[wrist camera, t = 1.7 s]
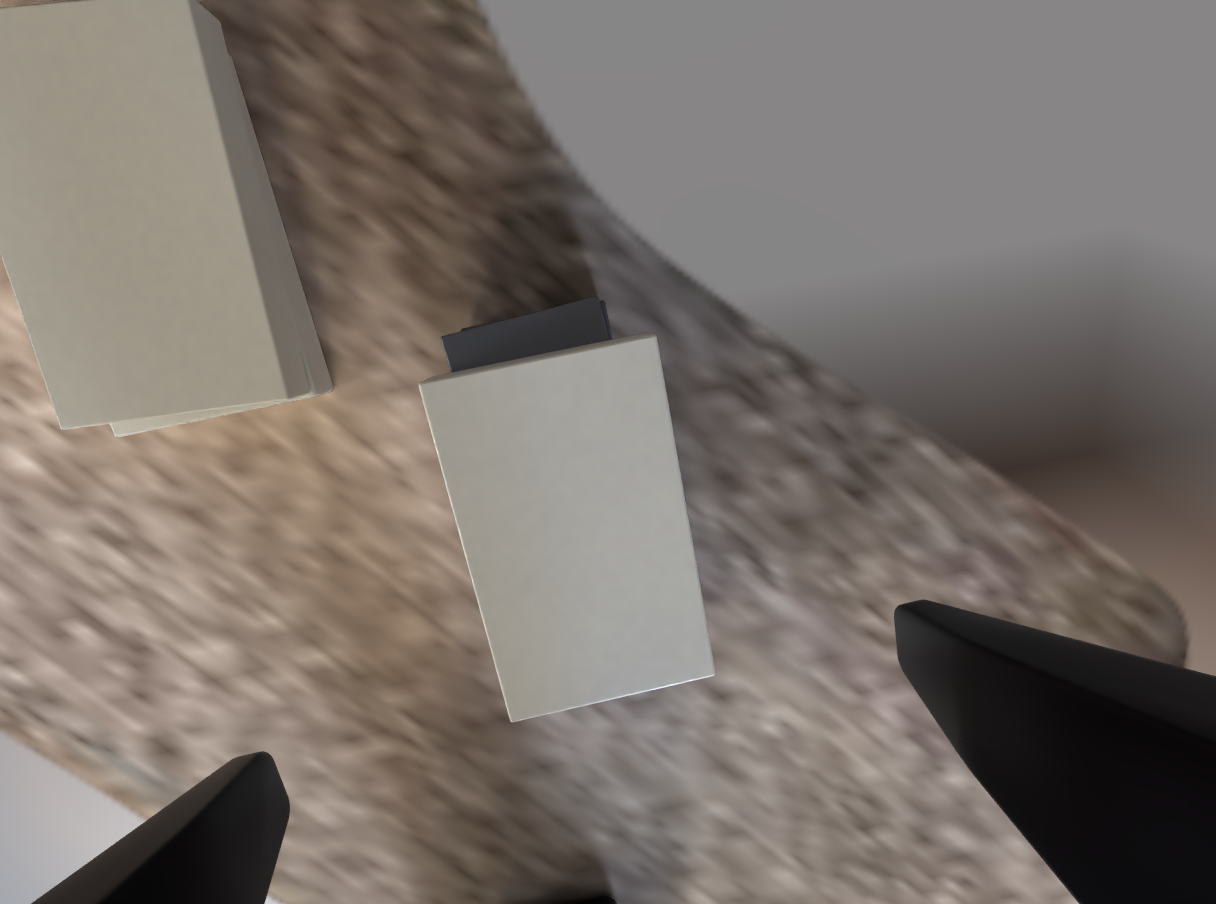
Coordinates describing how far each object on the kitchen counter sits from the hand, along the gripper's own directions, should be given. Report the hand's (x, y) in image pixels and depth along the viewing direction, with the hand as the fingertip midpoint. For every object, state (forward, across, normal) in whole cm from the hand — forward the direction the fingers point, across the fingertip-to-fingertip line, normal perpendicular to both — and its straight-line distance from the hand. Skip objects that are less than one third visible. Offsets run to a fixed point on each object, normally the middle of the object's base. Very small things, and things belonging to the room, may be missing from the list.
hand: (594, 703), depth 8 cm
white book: (+8, 0, 0) cm, 8 cm away
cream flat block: (+11, +9, -9) cm, 17 cm away
